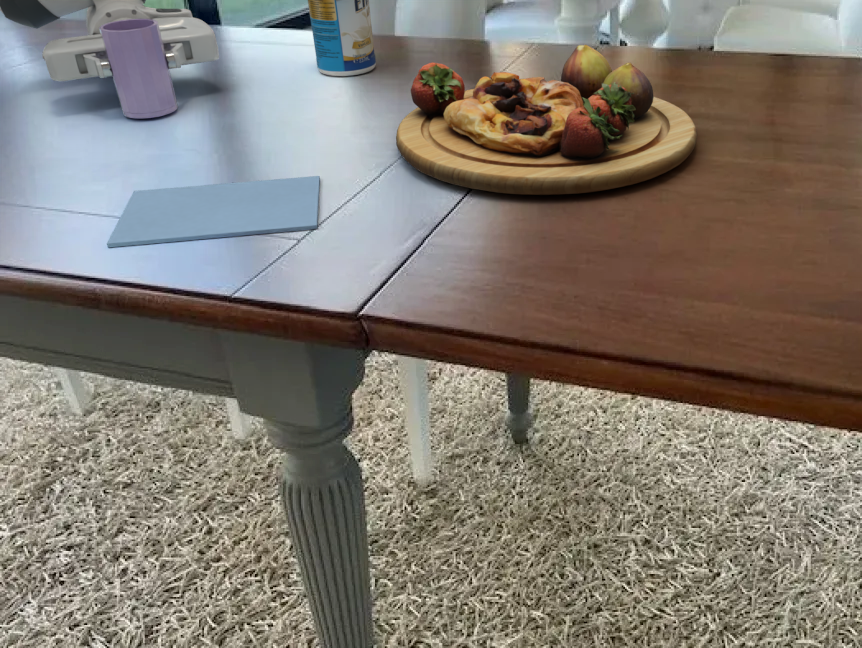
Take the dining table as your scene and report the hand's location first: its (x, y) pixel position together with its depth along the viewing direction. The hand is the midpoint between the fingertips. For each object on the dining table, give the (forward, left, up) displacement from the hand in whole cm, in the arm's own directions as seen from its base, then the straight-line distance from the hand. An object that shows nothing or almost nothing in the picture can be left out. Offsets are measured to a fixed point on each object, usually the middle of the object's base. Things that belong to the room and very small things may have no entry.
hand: (140, 65), depth 101 cm
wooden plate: (+45, -21, -6) cm, 50 cm away
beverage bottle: (+24, +15, -6) cm, 29 cm away
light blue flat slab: (+12, -32, -6) cm, 35 cm away
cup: (0, +1, -5) cm, 6 cm away
